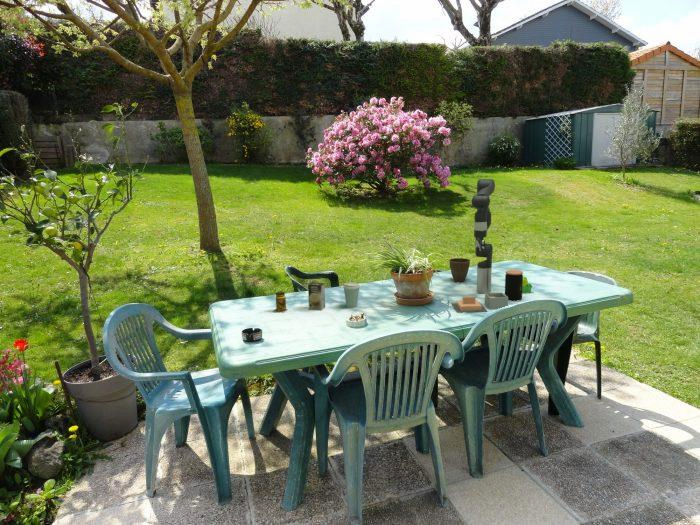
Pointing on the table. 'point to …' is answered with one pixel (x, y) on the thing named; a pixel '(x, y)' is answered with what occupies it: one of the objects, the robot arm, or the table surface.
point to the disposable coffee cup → (351, 294)
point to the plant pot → (459, 268)
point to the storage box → (496, 300)
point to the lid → (468, 303)
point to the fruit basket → (526, 286)
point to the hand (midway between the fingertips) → (480, 255)
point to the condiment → (280, 302)
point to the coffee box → (316, 295)
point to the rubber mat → (468, 310)
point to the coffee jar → (513, 284)
